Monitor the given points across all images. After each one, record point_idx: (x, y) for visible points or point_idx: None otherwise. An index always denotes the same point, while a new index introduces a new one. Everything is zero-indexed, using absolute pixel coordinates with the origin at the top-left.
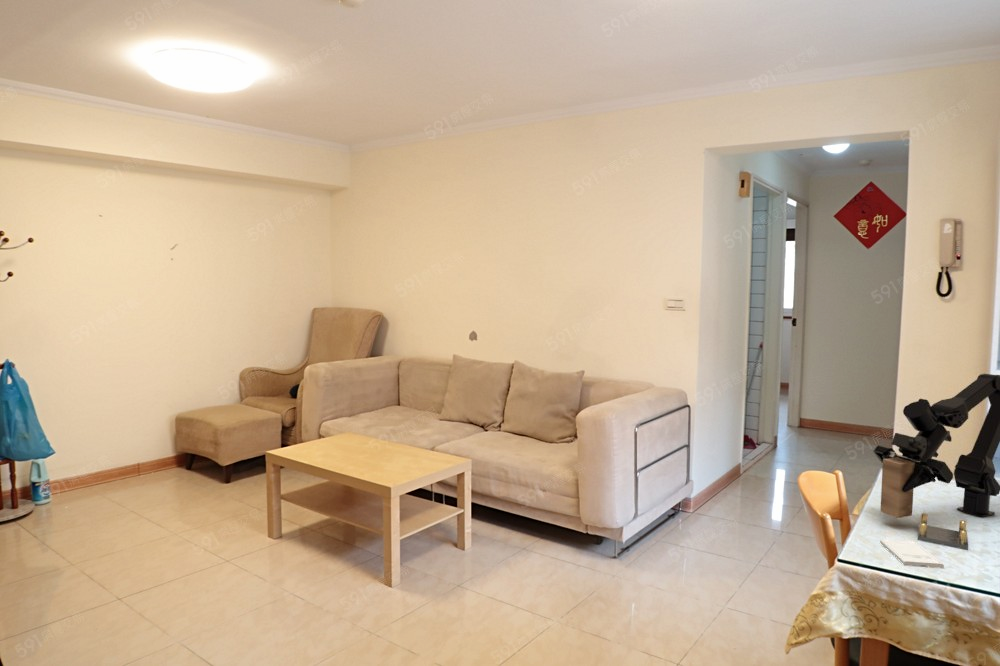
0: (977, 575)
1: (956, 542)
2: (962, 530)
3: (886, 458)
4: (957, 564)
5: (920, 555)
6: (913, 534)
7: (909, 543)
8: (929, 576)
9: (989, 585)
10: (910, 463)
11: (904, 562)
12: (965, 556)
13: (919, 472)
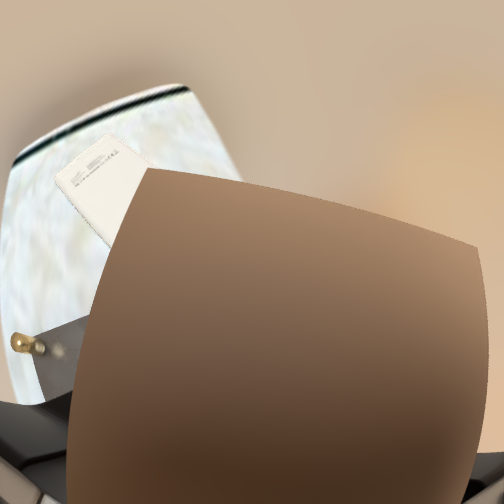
0: (16, 205)
1: (48, 341)
2: (19, 347)
3: (496, 456)
4: (38, 223)
5: (89, 176)
6: None
7: (121, 219)
8: (74, 136)
9: (8, 185)
10: (72, 457)
11: (109, 133)
12: (30, 287)
13: (25, 405)
